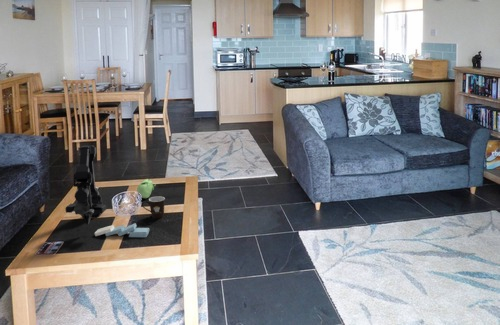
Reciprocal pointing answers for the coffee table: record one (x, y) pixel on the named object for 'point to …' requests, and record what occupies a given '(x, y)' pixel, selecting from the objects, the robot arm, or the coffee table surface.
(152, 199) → the coffee mug
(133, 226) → the domino
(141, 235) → the domino
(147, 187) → the green rounded lump
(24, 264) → the coffee table surface
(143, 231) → the domino
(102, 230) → the domino
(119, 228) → the domino
